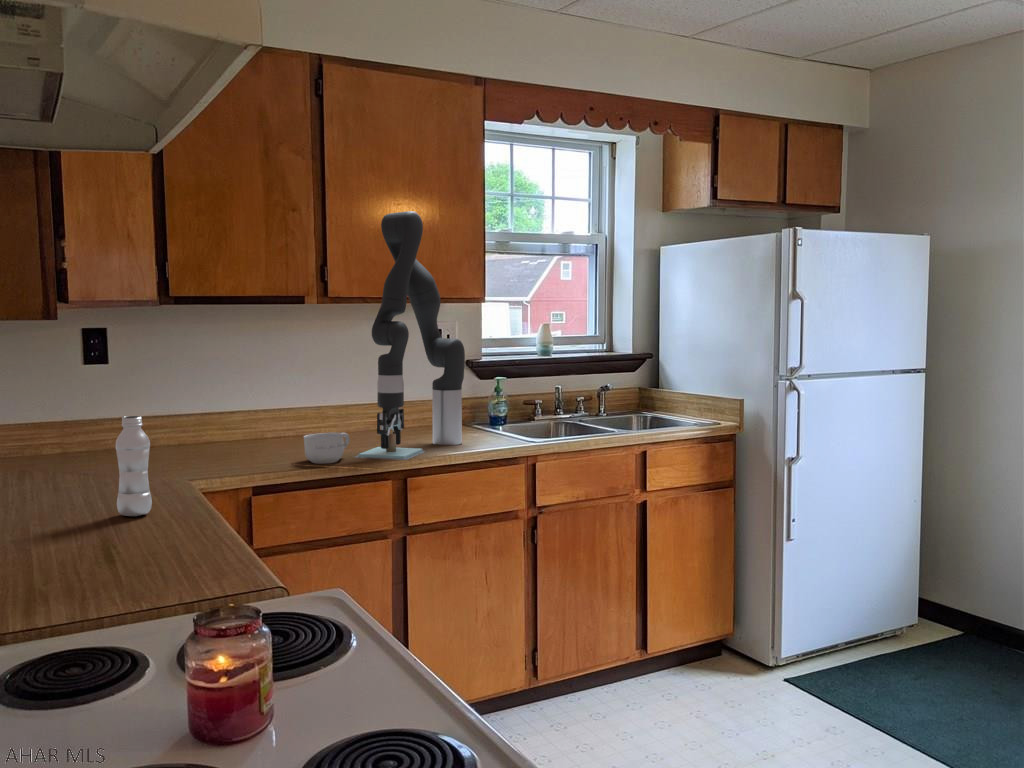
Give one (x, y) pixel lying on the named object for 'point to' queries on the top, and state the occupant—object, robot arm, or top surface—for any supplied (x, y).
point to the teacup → (325, 447)
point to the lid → (391, 451)
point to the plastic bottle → (133, 468)
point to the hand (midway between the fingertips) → (391, 446)
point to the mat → (392, 458)
